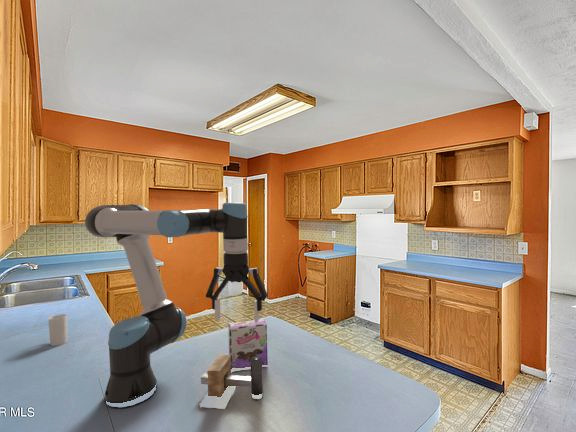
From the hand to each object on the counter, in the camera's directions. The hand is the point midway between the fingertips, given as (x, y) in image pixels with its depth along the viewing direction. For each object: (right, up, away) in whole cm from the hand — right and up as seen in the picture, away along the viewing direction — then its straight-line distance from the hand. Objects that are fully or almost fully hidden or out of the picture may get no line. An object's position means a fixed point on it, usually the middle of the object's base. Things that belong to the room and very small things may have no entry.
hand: (237, 320), depth 98 cm
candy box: (+1, -24, +19) cm, 30 cm away
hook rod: (-2, -24, +1) cm, 24 cm away
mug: (-89, -25, +44) cm, 102 cm away
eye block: (-6, -24, +1) cm, 25 cm away
